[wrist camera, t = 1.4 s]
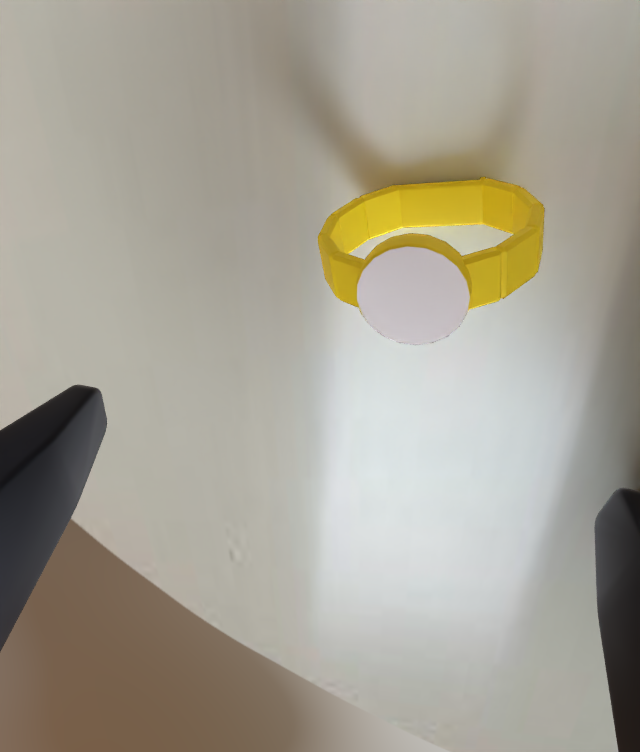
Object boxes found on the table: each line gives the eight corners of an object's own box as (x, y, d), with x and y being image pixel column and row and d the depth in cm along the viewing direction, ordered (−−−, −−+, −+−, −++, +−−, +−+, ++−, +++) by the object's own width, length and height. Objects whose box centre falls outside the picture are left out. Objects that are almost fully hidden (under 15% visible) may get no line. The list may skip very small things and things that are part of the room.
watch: (539, 145, 17) (557, 235, 12) (535, 235, 18) (550, 344, 14) (336, 167, 18) (287, 253, 14) (349, 248, 20) (309, 348, 16)
